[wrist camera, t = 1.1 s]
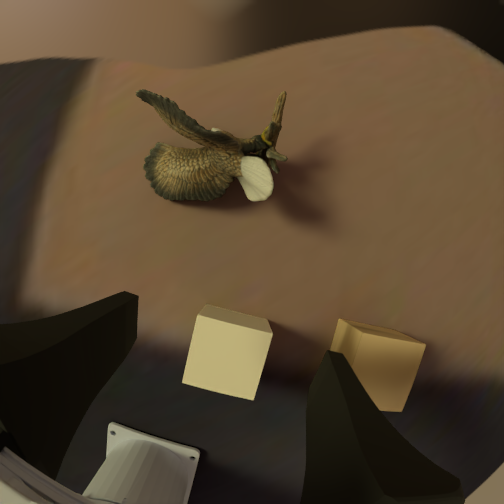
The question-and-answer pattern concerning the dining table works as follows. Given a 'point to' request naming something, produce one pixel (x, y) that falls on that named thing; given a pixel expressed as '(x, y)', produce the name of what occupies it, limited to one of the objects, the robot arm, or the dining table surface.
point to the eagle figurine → (211, 157)
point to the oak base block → (380, 361)
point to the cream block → (227, 352)
